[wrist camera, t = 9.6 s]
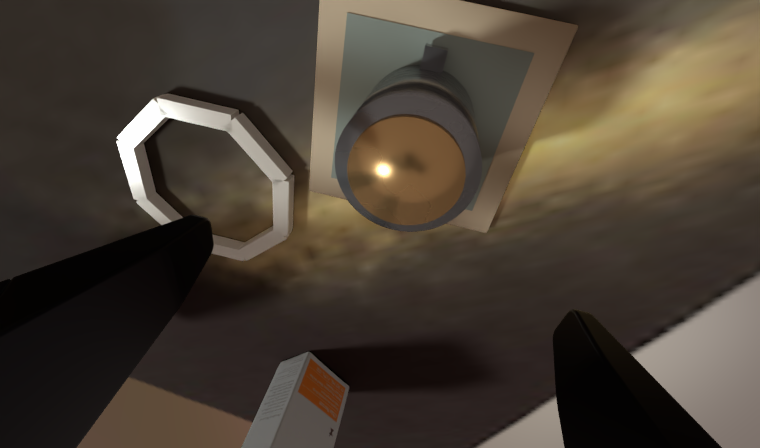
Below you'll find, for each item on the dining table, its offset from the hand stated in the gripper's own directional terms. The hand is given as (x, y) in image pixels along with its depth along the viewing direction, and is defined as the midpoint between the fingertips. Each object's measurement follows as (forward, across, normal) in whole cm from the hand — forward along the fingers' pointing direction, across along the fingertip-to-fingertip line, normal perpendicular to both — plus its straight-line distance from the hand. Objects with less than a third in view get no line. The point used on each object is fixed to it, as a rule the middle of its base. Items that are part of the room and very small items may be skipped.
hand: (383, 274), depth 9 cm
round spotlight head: (+11, 0, 0) cm, 11 cm away
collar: (+12, +12, +7) cm, 18 cm away
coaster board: (+12, 0, 0) cm, 12 cm away
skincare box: (+12, +4, +26) cm, 29 cm away
